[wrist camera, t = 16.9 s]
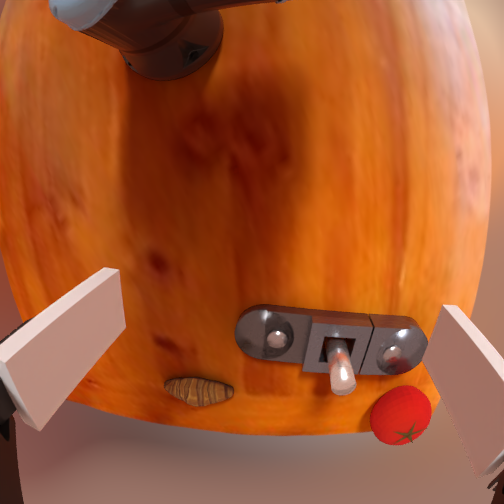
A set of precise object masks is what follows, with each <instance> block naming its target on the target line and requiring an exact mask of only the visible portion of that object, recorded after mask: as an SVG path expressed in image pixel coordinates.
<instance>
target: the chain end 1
mask: <svg viewBox="0 0 504 504" xmlns="http://www.w3.org/2000/svg"><path fill="white" fill-rule="evenodd" d="M312 316H322V317H333V318H346V319H359V320H370V319H369V317H368V314H364V313H350V312H338V311H327V310H316V309H305V308H295V307H286V306H277V305H267V304H261V305H256V306H253V307H250V308H248V309H247V310H245V311H244V312H243V313H242V314H241V316H240V317H239V319H238V322H237V325H236V329H235V339H236V342H237V344H238V346H239V347H240V349H241V350H242V351H243V352H245V353H246V354H248V355H249V356H251V357H254V358H257V359H263V360H272V361H281V362H292V363H302V361H303V357H304V352H305V347H306V343H307V338H308V333H309V328H310V322H311V317H312ZM351 340H352V338H348V340H347V343H346V344H347V348H348V350H349V347H350V343H351ZM320 355H327V353H326V348H323V347H322V349H321V353H320Z"/></svg>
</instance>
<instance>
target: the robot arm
mask: <svg viewBox="0 0 504 504" xmlns="http://www.w3.org/2000/svg"><path fill="white" fill-rule="evenodd" d="M286 1H289V0H49V7H50V10H51V12H52V14H53V16H54V17H55V18H56V19H58V20H60V21H62V22H63V23H65V24H67V25H68V26H69V27H70V28H72V29H73V30H75V31H79V32H81V33H84V34H86V35H88V36H91V37H93V38H95V39H97V40H100V41H102V42H104V43H106V44H108V45H110V46H113V47H115V48H117V49H119V51H120V53H121V55H122V56H123V58H124V60H125V62H126V64H127V65H128V66H129V67H130V68H131V69H132V70H133V71H135V72H136V73H138V74H140V75H142V76H144V77H146V78H149V79H152V80H158V81H167V80H174V79H178V78H181V77H184V76H186V75H189V74H190V73H192V72H194V71H196V70H197V69H199V68H200V67H201V66H203V65H204V64H205V63H206V62H207V61H208V60H209V59H210V58H211V57H212V56H213V54H214V53H215V51H216V50H217V48H218V46H219V44H220V42H221V39H222V35H223V20H222V17H221V14H220V13H219V11H218V10H219V9H225V8H231V7H237V6H244V5H252V4H260V3H270V2H275V3H284V2H286ZM125 328H126V324H125V316H124V309H123V301H122V292H121V283H120V272H119V270H118V269H111V268H105V267H104V268H102V269H101V270H100V271H98V272H97V273H95V274H94V275H92V276H91V277H89V278H88V279H87V280H85V281H84V282H82V283H81V284H79V285H78V286H77V287H75V288H74V289H72V290H71V291H70V292H68V293H67V294H65V295H64V296H63V297H61V298H60V299H59V300H57V301H56V302H54V303H53V304H52V305H50V306H49V307H48V308H46V309H45V310H44V311H42V312H41V313H40V314H38V315H37V316H36V317H33V318H31V319H29V320H27V321H25V322H24V323H23V324H21V325H20V326H19V327H18V328H17V329H15V330H14V331H12V332H11V333H10V335H7V336H6V337H5V338H4V339H2V340H1V341H0V504H24V502H23V497H22V491H21V484H20V477H19V469H18V460H17V448H16V432H15V431H16V430H15V420H14V417H13V415H12V414H13V413H14V412H15V411H16V410H17V411H18V413H19V415H20V417H21V418H22V420H23V422H25V423H26V424H28V425H29V426H31V427H33V428H35V429H36V430H38V431H41V429H42V428H43V427H44V426H45V424H46V423H47V422H48V421H49V419H50V418H51V417H52V416H53V414H54V413H55V412H56V410H57V409H58V408H59V407H60V405H61V404H62V403H63V402H64V400H65V399H66V398H67V397H68V396H69V394H70V393H71V392H72V391H73V389H74V388H75V387H76V386H77V385H78V383H79V382H80V381H81V380H82V378H83V377H84V376H85V375H86V374H87V372H88V371H89V370H90V369H91V368H92V367H93V365H94V364H95V363H96V362H97V361H98V359H99V358H100V357H101V356H102V355H103V354H104V352H105V351H106V350H107V349H108V348H109V347H110V345H111V344H112V343H113V342H114V341H115V340H116V338H117V337H118V336H119V335H120V334H121V333H122V332H123V330H124V329H125ZM422 361H423V363H424V365H425V367H426V369H427V371H428V372H429V374H430V376H431V378H432V380H433V382H434V384H435V386H436V388H437V390H438V392H439V394H440V396H441V398H442V400H443V402H444V404H445V406H446V408H447V410H448V413H449V415H450V417H451V419H452V421H453V423H454V426H455V428H456V430H457V432H458V435H459V437H460V439H461V441H462V444H463V446H464V449H465V451H466V453H467V455H468V458H469V461H470V463H471V466H472V468H473V471H474V474H475V476H476V478H480V477H483V476H485V475H488V474H491V473H493V472H494V471H495V470H496V469H497V467H499V466H500V465H501V464H502V462H503V461H504V359H503V358H502V357H501V356H500V355H499V353H498V352H497V351H496V350H495V348H494V347H493V346H492V345H491V344H490V342H489V341H488V340H487V339H486V338H485V337H484V335H483V334H482V333H481V332H480V331H479V330H478V329H477V327H476V326H475V325H474V324H473V323H472V322H471V321H470V320H469V318H468V317H467V316H466V315H465V314H464V313H463V312H462V311H461V310H460V309H459V308H458V307H457V306H456V305H442V308H441V311H440V314H439V316H438V319H437V322H436V325H435V328H434V330H433V333H432V335H431V338H430V341H429V343H428V346H427V348H426V351H425V353H424V355H423V358H422ZM496 482H498V484H497V486H496V487H495V488H494V489H493V491H495V494H494V497H493V500H492V503H491V504H504V470H503V471H502V472H501V473H500V474H499V475H498V476H497V477H496V478H495V479H494V480H493V481H492V482H491V483H490V484H489V486H488V487H487V488H488V489H490V488H491V487H492V486H493V485H494V484H495V483H496Z"/></svg>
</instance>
